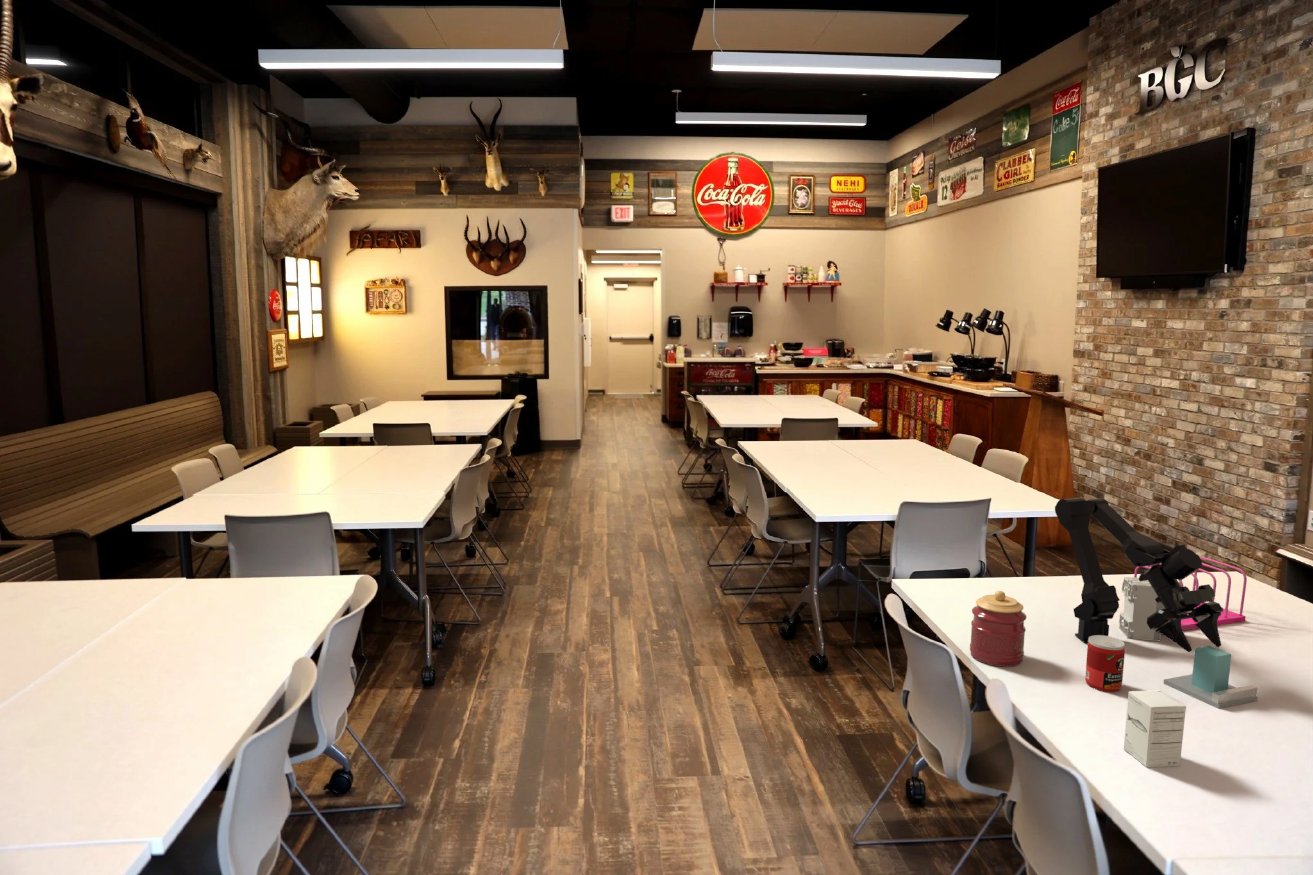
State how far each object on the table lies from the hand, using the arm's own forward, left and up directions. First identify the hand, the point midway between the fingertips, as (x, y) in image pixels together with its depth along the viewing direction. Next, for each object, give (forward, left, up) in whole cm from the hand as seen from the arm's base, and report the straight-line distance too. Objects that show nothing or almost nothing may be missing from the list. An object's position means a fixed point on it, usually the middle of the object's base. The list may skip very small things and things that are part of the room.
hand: (1205, 648), depth 202 cm
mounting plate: (+1, -2, -10) cm, 10 cm away
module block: (+1, -2, -9) cm, 9 cm away
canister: (-41, +17, -10) cm, 46 cm away
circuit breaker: (+7, +34, -10) cm, 36 cm away
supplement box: (-29, -33, -10) cm, 45 cm away
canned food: (-22, +1, -10) cm, 24 cm away
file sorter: (+25, +50, -10) cm, 56 cm away
